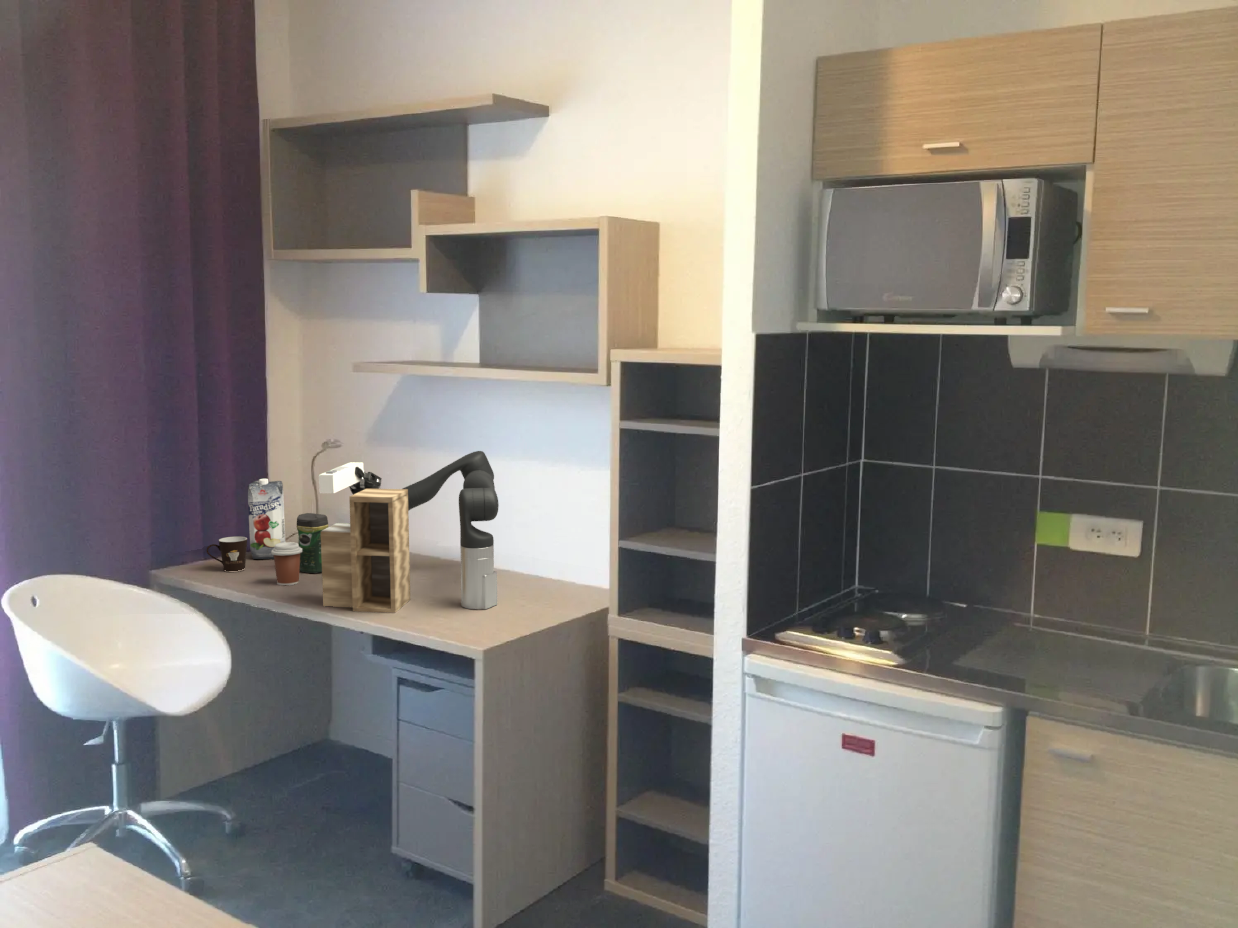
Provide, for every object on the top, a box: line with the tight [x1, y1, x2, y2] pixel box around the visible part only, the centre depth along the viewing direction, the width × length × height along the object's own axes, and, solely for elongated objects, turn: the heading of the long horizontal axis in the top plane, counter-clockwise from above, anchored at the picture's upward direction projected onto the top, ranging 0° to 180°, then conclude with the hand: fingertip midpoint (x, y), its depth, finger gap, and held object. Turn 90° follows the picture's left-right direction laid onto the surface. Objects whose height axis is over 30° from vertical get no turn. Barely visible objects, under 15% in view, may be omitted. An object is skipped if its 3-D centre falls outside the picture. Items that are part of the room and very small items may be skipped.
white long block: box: [318, 461, 365, 494], centre depth 304 cm, size 24×4×5 cm, turn 174°
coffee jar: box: [296, 512, 329, 574], centre depth 344 cm, size 10×8×19 cm
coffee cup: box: [271, 541, 302, 586], centre depth 329 cm, size 9×9×12 cm
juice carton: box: [247, 478, 286, 560], centre depth 363 cm, size 9×10×27 cm
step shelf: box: [321, 488, 411, 613], centre depth 304 cm, size 16×22×32 cm
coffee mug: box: [206, 536, 248, 571], centre depth 346 cm, size 12×9×10 cm
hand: (348, 469), depth 308 cm, fingers closed on white long block, 4 cm apart
